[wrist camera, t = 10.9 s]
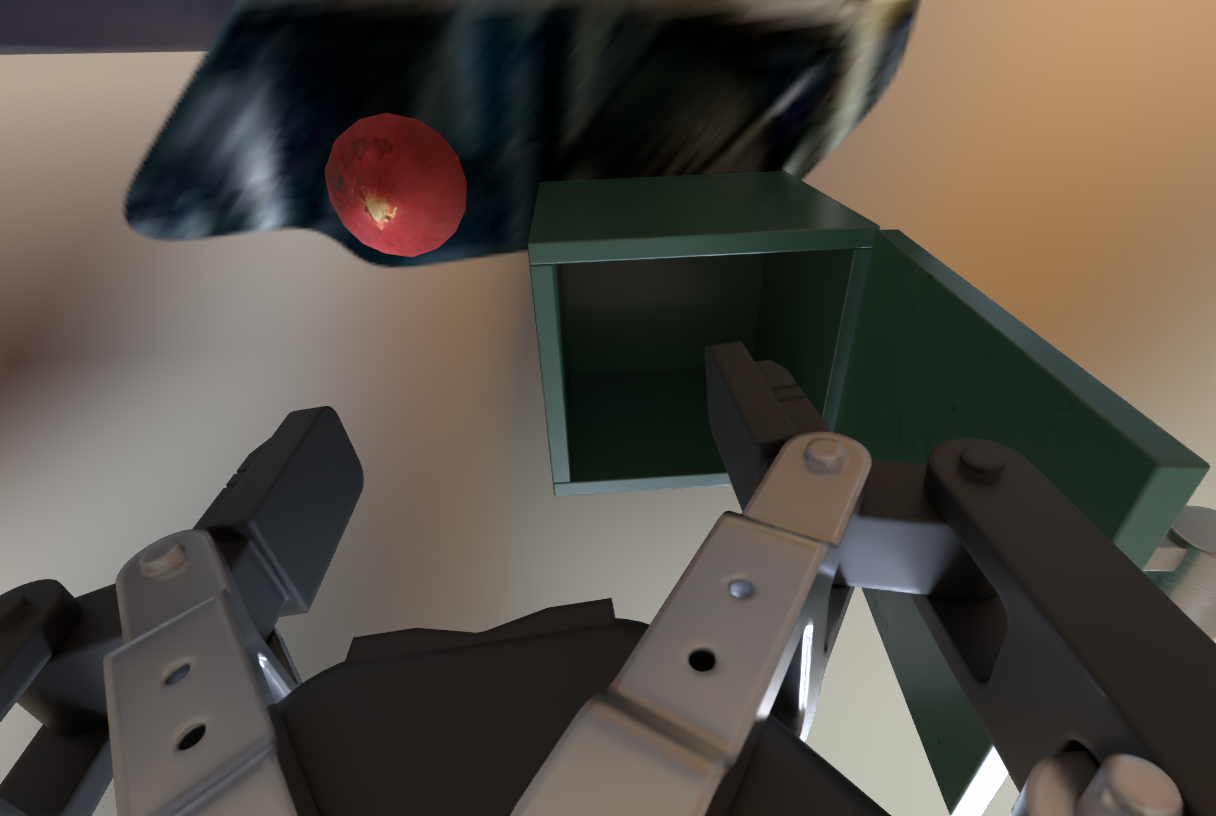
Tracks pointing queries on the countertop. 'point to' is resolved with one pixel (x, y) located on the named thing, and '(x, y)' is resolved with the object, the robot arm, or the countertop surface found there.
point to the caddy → (682, 313)
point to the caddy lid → (1033, 426)
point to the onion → (396, 184)
